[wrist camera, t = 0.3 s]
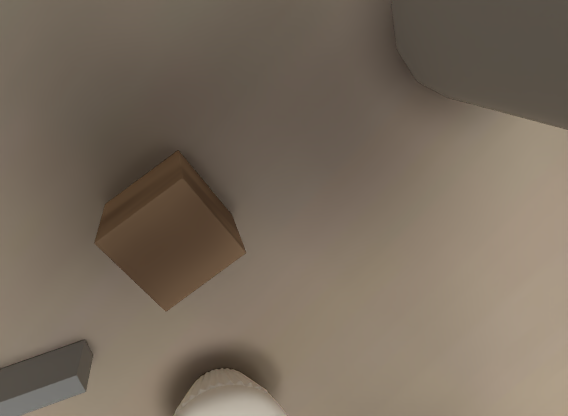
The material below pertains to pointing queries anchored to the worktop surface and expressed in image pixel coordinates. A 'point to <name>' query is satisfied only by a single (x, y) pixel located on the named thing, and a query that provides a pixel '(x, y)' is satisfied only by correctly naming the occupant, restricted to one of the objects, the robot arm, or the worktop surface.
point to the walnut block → (169, 232)
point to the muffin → (228, 397)
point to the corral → (45, 379)
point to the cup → (490, 53)
